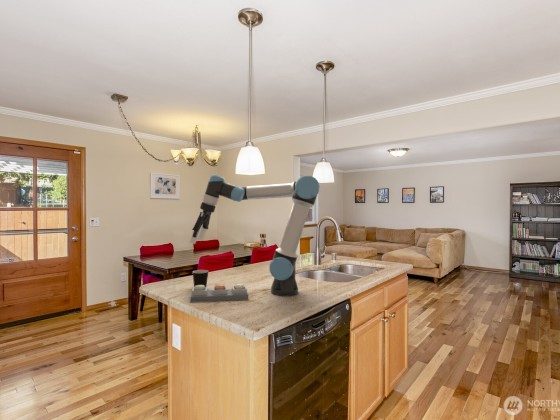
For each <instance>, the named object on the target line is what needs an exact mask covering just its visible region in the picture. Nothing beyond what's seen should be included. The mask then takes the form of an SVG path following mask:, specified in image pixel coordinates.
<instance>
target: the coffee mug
mask: <svg viewBox="0 0 560 420" xmlns="http://www.w3.org/2000/svg"><path fill="white" fill-rule="evenodd" d="M208 278H209V270H206V269H197V270H193V271H192V279H193V281H192V282H193V287H195V286H196V285H204V286H205V287H208V286H207V284H208Z"/></svg>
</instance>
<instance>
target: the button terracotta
mask: <svg viewBox="0 0 560 420" xmlns="http://www.w3.org/2000/svg"><path fill="white" fill-rule="evenodd" d="M225 286H226V285H225V284H221V283H218V284H215V285H214V287H215V290H225Z"/></svg>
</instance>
